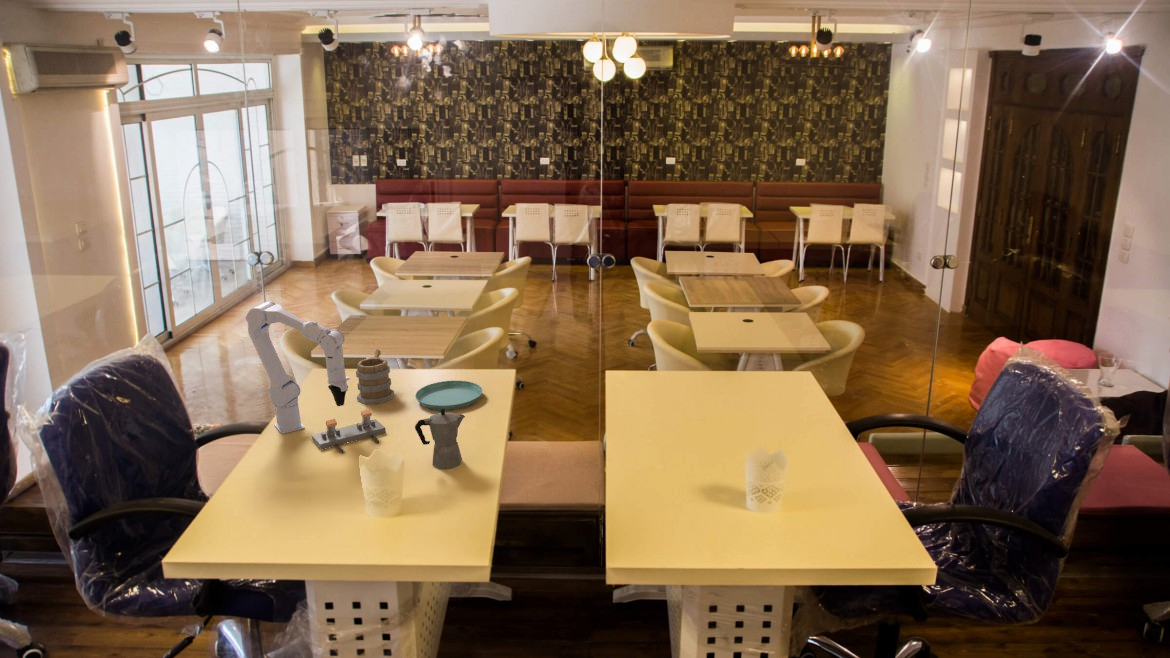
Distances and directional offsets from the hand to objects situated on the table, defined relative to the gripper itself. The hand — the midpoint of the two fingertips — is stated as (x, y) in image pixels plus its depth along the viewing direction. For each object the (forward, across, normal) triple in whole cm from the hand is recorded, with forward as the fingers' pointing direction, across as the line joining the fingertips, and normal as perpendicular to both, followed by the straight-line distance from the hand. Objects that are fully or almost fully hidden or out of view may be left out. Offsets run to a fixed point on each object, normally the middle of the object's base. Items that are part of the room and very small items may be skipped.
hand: (340, 405), depth 300 cm
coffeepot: (+10, -44, -17) cm, 48 cm away
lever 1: (+7, -6, +6) cm, 11 cm away
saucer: (+10, +4, -41) cm, 42 cm away
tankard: (+10, +26, -22) cm, 35 cm away
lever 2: (+7, -6, -6) cm, 11 cm away
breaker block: (+9, -9, 0) cm, 13 cm away
